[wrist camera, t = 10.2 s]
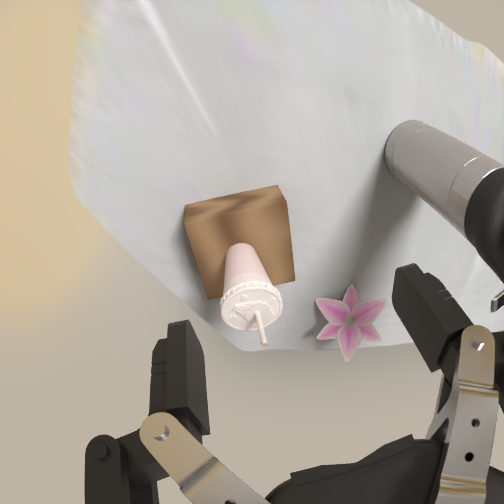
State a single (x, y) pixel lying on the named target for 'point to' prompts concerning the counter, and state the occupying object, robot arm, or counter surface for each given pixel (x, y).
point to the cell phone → (497, 302)
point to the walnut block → (240, 234)
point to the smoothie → (248, 292)
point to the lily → (350, 320)
